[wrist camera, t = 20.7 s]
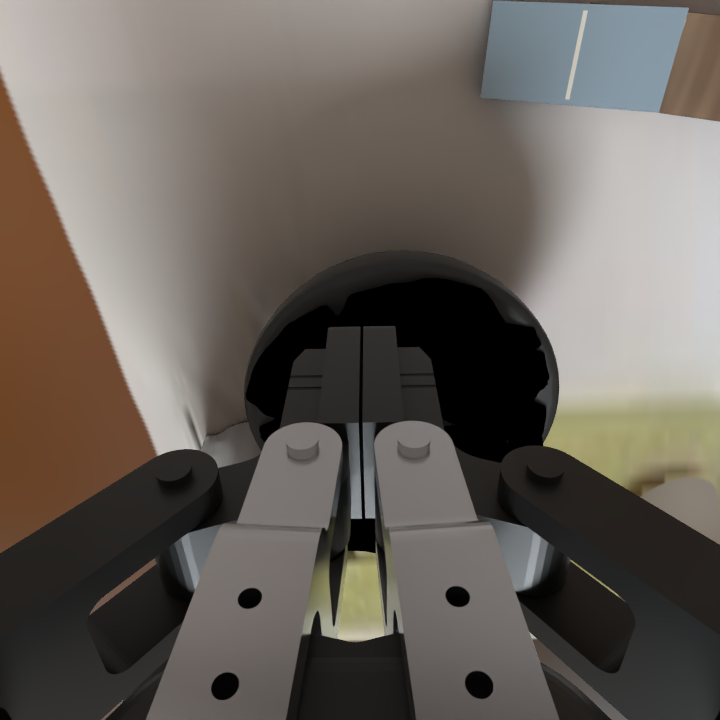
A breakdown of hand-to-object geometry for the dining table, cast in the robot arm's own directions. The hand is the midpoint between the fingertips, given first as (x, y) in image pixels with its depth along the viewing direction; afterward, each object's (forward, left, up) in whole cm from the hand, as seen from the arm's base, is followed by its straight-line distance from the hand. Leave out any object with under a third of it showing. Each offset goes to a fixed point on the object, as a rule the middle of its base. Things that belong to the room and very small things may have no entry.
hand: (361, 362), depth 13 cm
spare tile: (+7, +4, -28) cm, 29 cm away
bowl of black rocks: (+2, -15, -29) cm, 32 cm away
